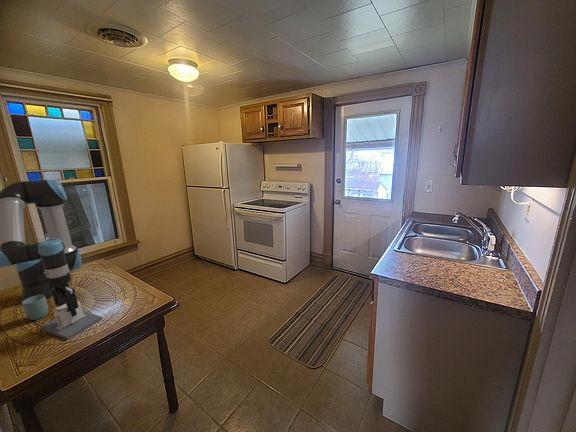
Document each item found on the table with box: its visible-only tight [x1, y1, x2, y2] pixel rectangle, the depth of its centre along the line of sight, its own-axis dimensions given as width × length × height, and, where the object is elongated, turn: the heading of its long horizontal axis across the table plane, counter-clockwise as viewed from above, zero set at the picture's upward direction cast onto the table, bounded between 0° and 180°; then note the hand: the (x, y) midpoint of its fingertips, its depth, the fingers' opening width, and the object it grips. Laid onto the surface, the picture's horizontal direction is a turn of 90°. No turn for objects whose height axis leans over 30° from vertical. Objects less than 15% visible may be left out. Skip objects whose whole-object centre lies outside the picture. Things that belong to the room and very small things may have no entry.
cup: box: [21, 295, 49, 321], centre depth 117 cm, size 8×8×10 cm
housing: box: [52, 300, 84, 327], centre depth 111 cm, size 5×8×8 cm, turn 160°
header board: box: [39, 310, 103, 341], centre depth 112 cm, size 20×14×6 cm
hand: (70, 320), depth 112 cm, fingers closed on housing, 5 cm apart
